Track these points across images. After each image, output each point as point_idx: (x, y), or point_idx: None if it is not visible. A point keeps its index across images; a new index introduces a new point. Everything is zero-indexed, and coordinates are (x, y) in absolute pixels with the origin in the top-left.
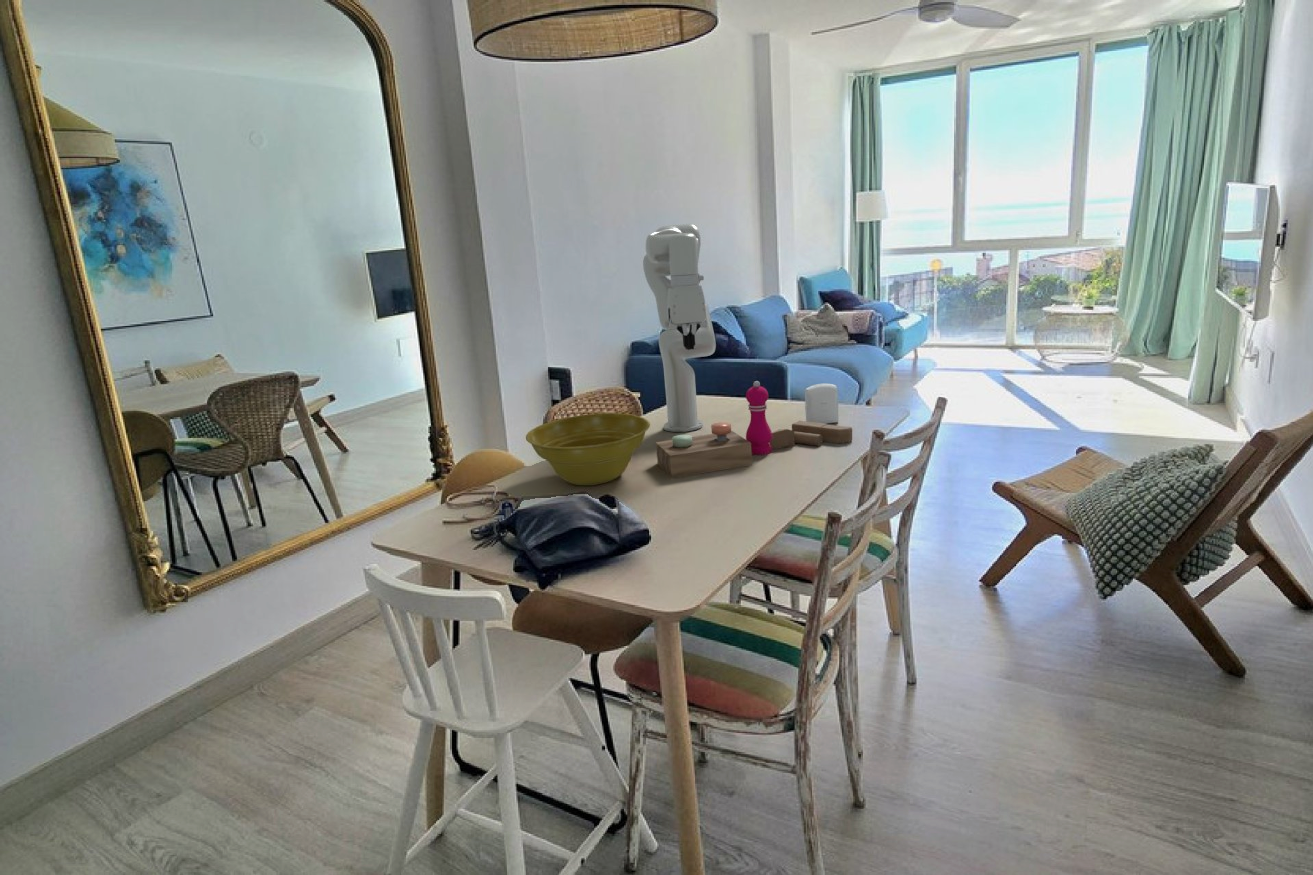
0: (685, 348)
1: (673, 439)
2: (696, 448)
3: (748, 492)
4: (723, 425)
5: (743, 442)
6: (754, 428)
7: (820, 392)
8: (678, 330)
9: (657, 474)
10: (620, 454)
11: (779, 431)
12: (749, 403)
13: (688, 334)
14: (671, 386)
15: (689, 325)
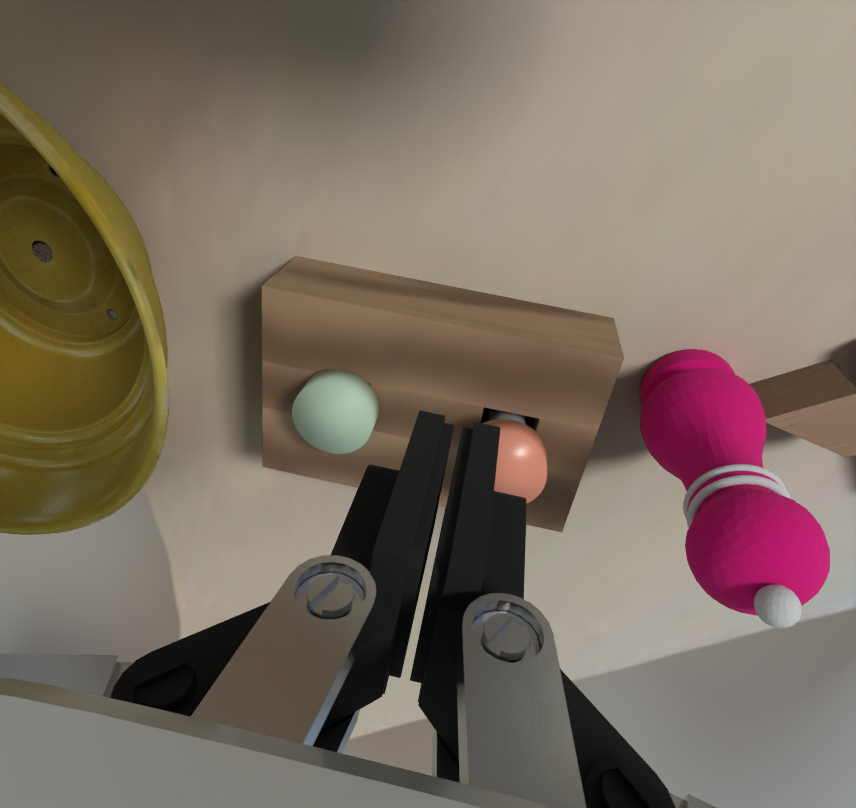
0: (420, 414)
1: (293, 417)
2: (371, 461)
3: (420, 612)
4: (504, 487)
5: (546, 511)
6: (667, 467)
7: None
8: (198, 656)
9: (261, 364)
10: (72, 469)
11: (807, 440)
12: (704, 507)
13: (443, 589)
14: None
15: (468, 754)
